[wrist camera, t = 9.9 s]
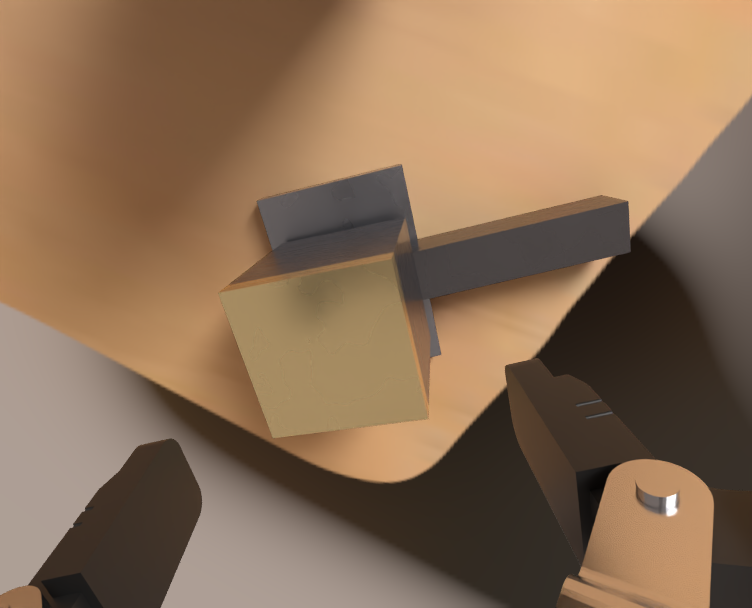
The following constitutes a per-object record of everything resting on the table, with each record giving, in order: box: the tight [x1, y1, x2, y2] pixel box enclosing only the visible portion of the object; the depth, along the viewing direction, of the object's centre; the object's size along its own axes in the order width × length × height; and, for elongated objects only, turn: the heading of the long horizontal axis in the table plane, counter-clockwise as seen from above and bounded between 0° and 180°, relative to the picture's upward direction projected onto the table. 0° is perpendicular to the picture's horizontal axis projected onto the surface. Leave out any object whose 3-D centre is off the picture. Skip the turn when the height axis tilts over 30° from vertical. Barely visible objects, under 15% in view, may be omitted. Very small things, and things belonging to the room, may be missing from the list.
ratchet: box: [257, 164, 631, 357], centre depth 21 cm, size 10×16×6 cm, turn 103°
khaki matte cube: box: [218, 217, 431, 438], centre depth 19 cm, size 6×6×7 cm
